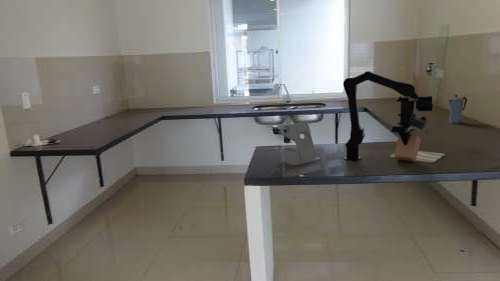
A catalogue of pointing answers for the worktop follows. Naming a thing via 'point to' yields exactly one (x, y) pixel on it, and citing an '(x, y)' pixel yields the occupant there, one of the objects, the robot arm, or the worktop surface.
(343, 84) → the robot arm
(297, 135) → the phone holder
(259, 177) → the worktop surface
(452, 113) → the moka pot
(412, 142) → the terracotta block
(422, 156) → the birch board
